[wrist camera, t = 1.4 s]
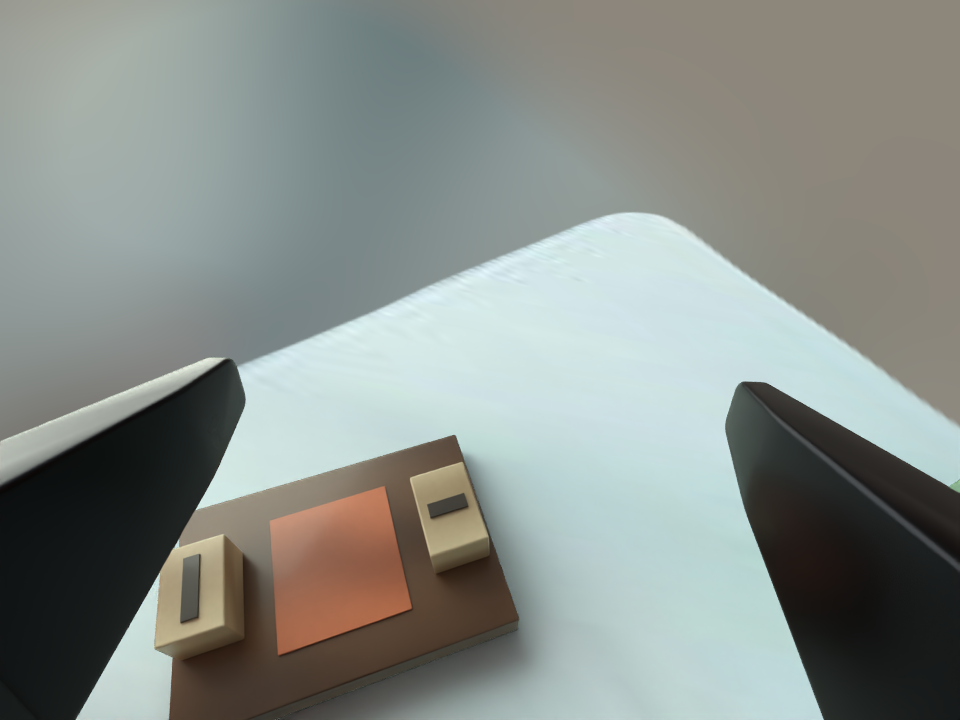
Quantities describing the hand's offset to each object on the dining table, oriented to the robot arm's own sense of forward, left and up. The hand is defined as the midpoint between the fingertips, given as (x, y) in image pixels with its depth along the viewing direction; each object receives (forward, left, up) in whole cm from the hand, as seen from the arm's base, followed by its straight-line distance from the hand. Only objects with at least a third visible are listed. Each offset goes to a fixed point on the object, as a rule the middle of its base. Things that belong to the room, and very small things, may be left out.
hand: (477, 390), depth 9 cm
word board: (+4, +5, -16) cm, 17 cm away
